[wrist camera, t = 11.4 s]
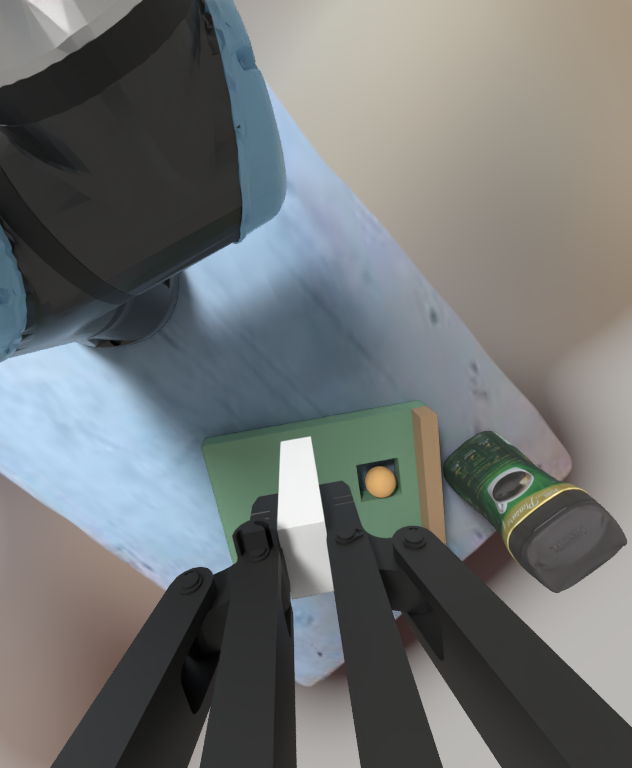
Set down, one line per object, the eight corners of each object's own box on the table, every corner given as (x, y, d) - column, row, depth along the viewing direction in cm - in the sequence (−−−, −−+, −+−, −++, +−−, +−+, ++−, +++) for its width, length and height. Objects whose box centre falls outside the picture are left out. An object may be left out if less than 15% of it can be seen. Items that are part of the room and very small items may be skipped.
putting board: (236, 553, 49) (230, 585, 44) (205, 438, 44) (194, 458, 39) (429, 517, 50) (445, 543, 45) (419, 400, 45) (437, 414, 40)
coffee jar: (463, 500, 50) (561, 617, 32) (432, 464, 48) (517, 566, 30) (518, 458, 49) (652, 554, 31) (488, 419, 47) (612, 498, 29)
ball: (357, 491, 45) (386, 497, 43) (363, 460, 46) (392, 465, 44) (369, 496, 48) (397, 503, 46) (375, 468, 49) (402, 472, 47)
